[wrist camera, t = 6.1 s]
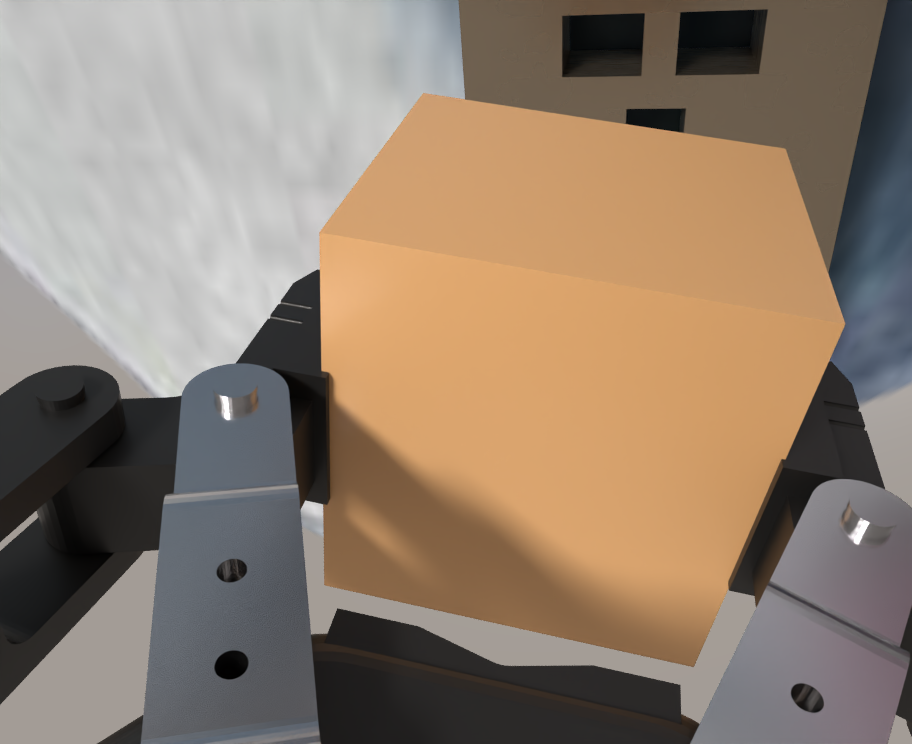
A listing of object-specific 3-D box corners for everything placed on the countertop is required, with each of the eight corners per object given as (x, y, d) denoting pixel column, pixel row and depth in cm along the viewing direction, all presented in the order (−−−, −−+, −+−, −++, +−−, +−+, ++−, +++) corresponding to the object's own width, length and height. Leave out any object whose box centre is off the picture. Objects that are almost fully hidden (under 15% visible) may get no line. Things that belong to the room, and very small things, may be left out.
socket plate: (465, -217, 24) (440, -214, 21) (912, -257, 22) (951, -259, 19) (491, 267, 33) (475, 314, 31) (805, 276, 31) (821, 328, 28)
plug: (454, 50, 15) (319, 232, 9) (768, 97, 14) (845, 323, 8) (432, 325, 19) (324, 585, 13) (682, 372, 18) (693, 667, 12)
